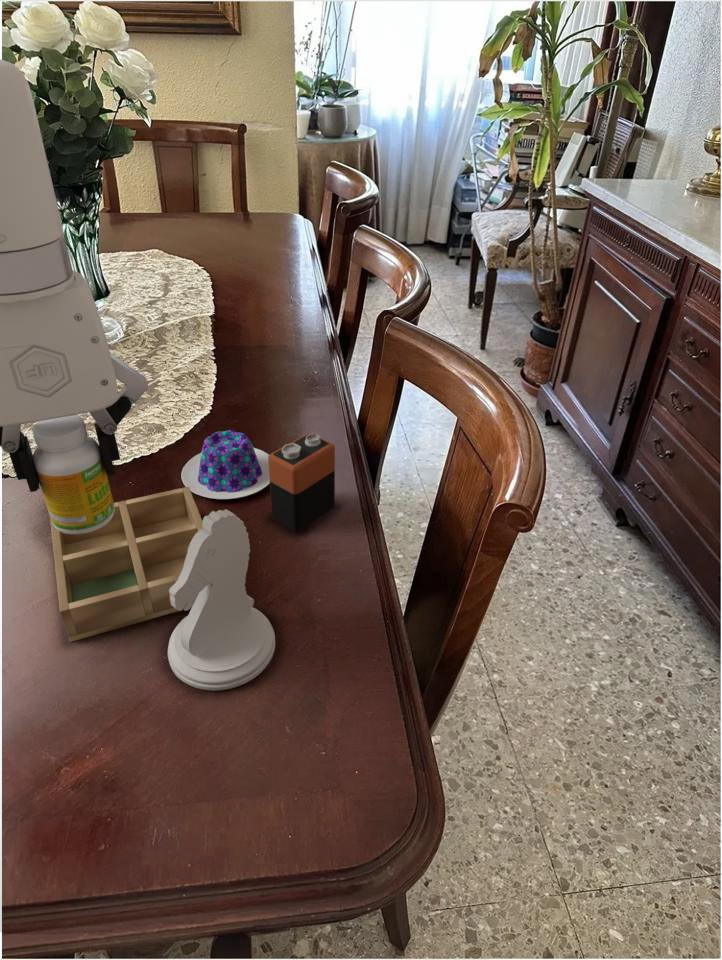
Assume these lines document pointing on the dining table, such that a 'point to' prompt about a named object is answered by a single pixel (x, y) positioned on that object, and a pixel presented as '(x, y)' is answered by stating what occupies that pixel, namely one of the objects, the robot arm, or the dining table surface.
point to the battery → (302, 481)
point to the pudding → (227, 467)
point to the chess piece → (218, 610)
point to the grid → (124, 563)
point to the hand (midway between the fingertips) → (72, 473)
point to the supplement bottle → (72, 475)
